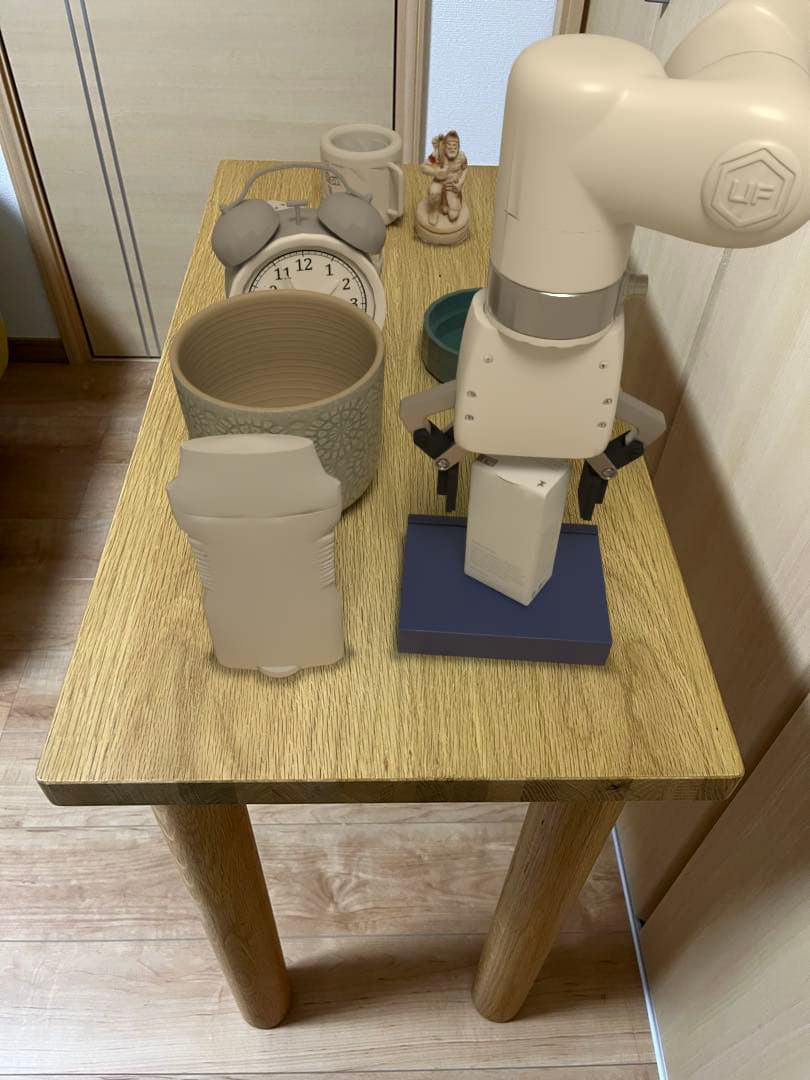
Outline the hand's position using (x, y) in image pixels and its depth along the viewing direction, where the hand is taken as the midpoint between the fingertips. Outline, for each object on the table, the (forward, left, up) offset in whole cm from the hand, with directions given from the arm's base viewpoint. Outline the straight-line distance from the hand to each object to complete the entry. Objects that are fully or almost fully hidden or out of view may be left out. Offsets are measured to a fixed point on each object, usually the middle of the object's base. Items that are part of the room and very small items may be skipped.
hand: (516, 503), depth 59 cm
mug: (+17, -66, -11) cm, 69 cm away
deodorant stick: (+17, +7, -11) cm, 22 cm away
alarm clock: (+20, -30, -11) cm, 38 cm away
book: (0, 0, -11) cm, 11 cm away
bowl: (+1, -34, -11) cm, 36 cm away
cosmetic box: (0, 0, -8) cm, 8 cm away
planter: (+19, -12, -11) cm, 25 cm away
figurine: (+7, -62, -11) cm, 63 cm away
